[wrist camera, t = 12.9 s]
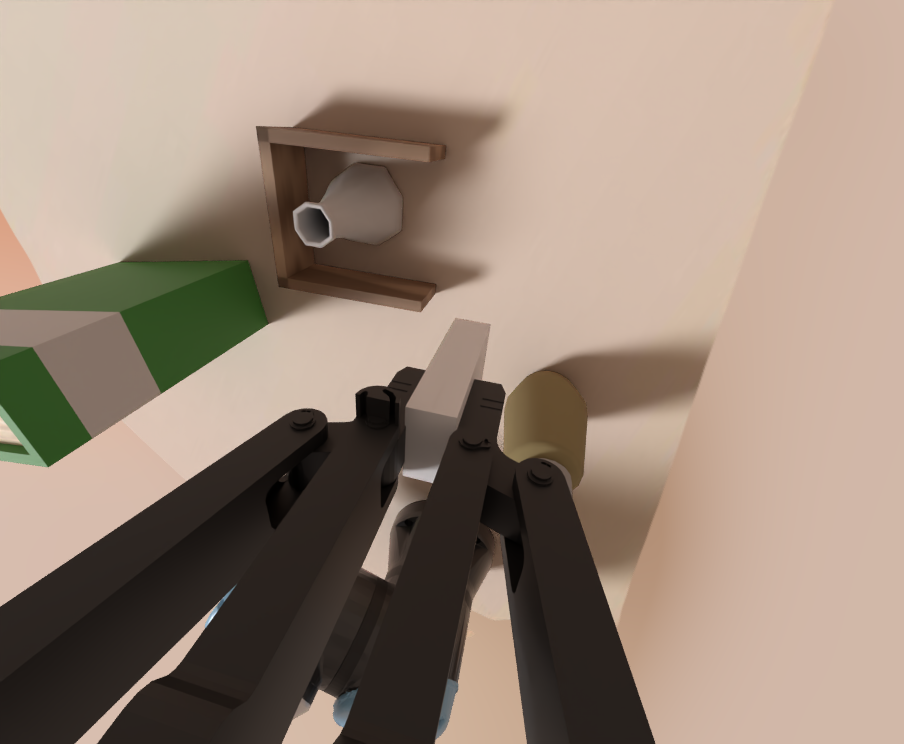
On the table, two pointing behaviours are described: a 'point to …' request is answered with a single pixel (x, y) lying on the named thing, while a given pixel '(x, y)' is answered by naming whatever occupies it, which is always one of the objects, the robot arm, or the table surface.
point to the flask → (353, 209)
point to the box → (291, 191)
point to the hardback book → (111, 346)
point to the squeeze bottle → (547, 424)
